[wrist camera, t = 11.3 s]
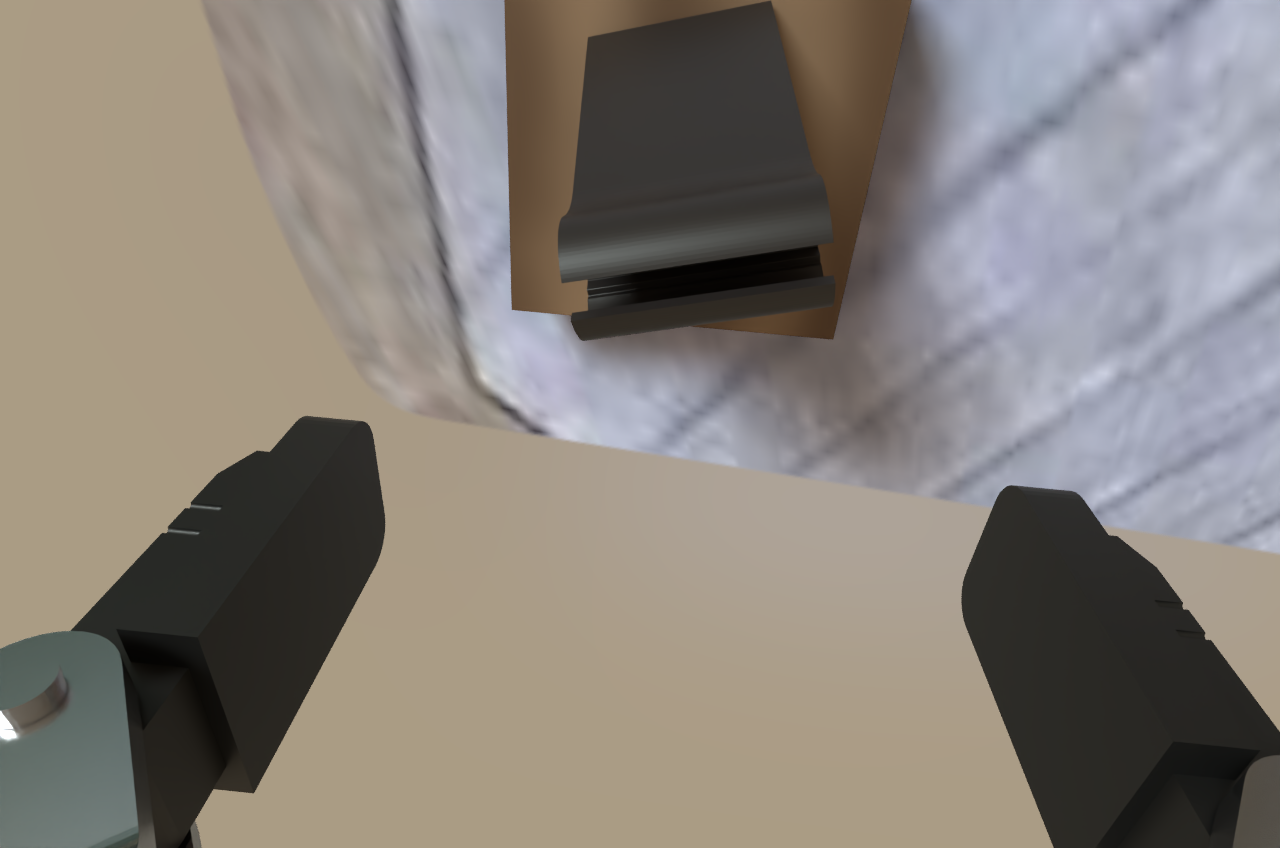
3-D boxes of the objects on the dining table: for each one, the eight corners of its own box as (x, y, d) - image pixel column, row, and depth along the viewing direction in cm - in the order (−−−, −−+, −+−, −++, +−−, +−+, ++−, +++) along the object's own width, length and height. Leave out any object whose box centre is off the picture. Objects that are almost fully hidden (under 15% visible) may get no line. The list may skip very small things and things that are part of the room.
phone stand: (790, 266, 28) (842, 438, 18) (636, 288, 29) (603, 463, 19) (772, -1, 24) (827, 30, 14) (589, 34, 25) (513, 87, 14)
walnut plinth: (892, -42, 26) (920, -42, 23) (819, 300, 33) (833, 339, 30) (527, -72, 27) (502, -77, 23) (530, 274, 33) (511, 309, 30)
